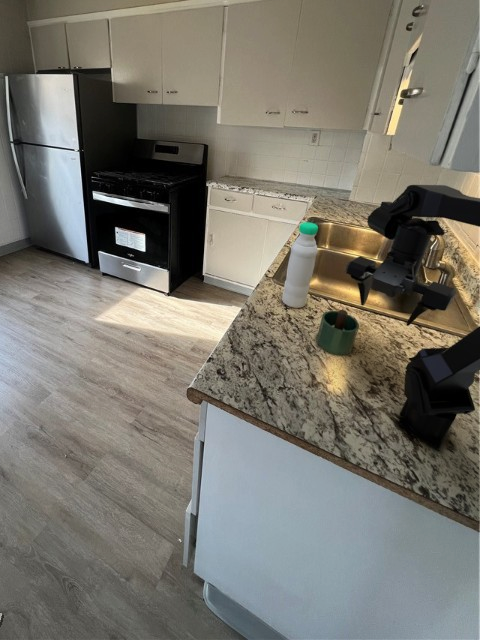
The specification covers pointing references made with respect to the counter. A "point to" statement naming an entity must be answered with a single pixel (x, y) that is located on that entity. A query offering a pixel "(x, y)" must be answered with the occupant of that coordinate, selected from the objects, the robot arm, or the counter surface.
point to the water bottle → (300, 266)
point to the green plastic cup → (337, 334)
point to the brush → (340, 320)
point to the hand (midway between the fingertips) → (384, 314)
